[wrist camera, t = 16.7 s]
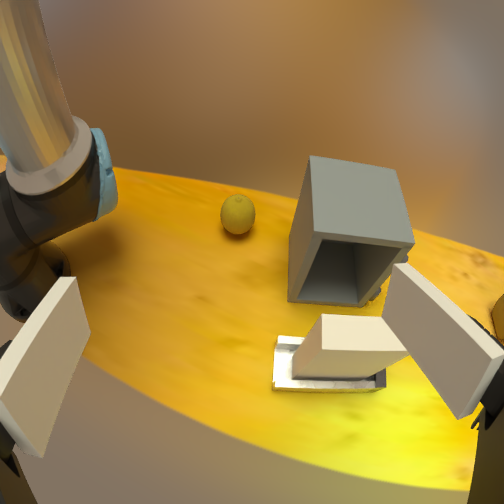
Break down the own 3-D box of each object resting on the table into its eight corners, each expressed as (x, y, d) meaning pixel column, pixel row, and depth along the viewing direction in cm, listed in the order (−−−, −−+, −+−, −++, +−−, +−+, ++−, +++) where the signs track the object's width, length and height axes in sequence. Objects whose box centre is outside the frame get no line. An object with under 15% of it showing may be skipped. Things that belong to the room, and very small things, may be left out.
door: (291, 379, 41) (321, 349, 28) (292, 352, 43) (321, 309, 30) (360, 381, 41) (416, 350, 28) (359, 355, 43) (412, 314, 30)
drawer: (272, 390, 41) (275, 385, 37) (275, 343, 44) (278, 334, 41) (374, 391, 41) (386, 387, 37) (373, 347, 44) (384, 339, 41)
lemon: (258, 237, 54) (263, 206, 47) (227, 247, 53) (227, 216, 46) (246, 213, 57) (248, 181, 50) (216, 222, 55) (215, 190, 48)
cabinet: (287, 302, 48) (314, 231, 33) (289, 236, 54) (309, 155, 39) (368, 308, 48) (423, 245, 33) (361, 244, 54) (402, 171, 39)
